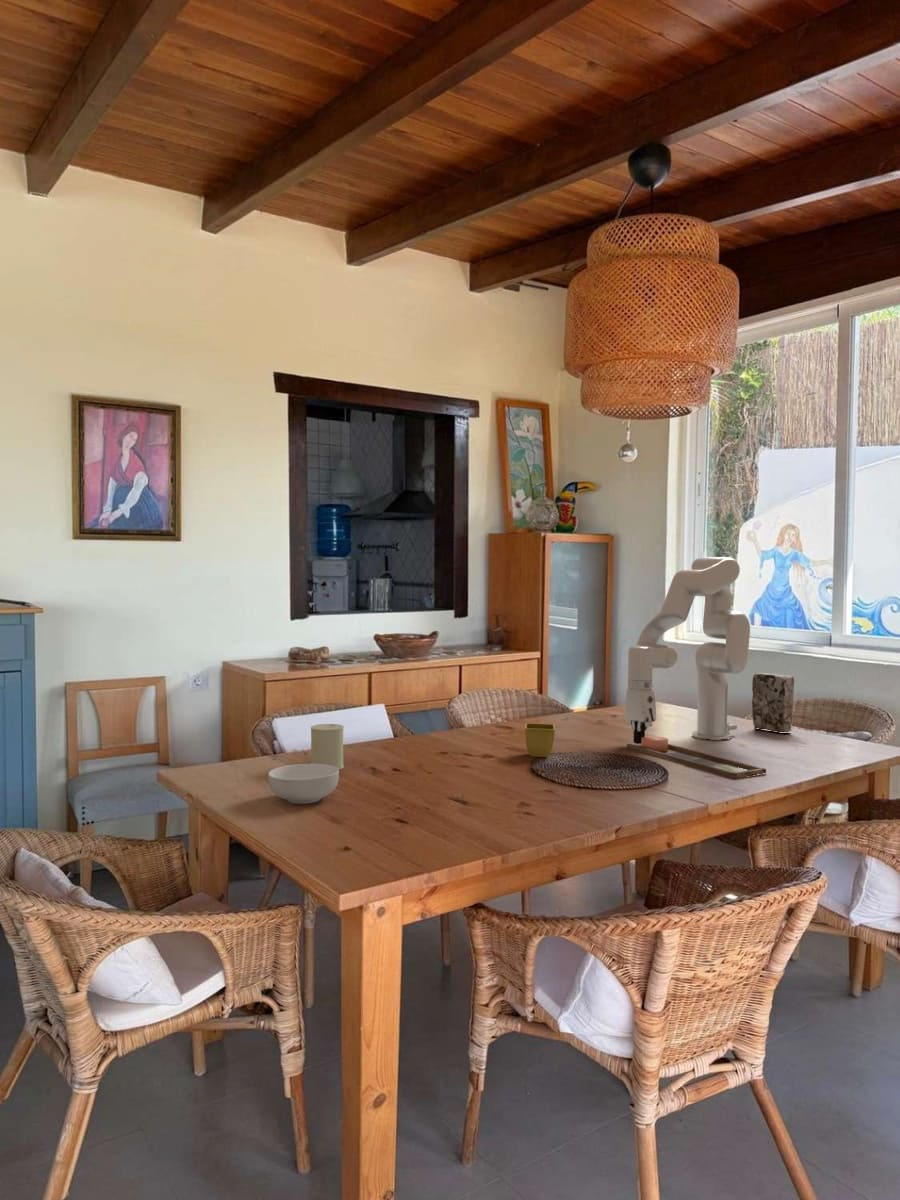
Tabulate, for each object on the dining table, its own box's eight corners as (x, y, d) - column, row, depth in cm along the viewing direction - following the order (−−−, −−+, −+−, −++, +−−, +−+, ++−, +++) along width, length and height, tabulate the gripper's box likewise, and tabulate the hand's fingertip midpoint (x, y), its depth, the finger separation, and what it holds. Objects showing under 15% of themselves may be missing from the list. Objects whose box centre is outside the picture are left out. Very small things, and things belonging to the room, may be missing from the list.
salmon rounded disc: (655, 746, 279) (655, 735, 279) (673, 750, 272) (673, 739, 272) (636, 748, 275) (636, 737, 275) (654, 753, 268) (654, 742, 268)
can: (350, 766, 250) (350, 723, 249) (332, 772, 241) (332, 729, 241) (322, 762, 254) (322, 721, 253) (304, 769, 245) (304, 726, 245)
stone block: (794, 733, 304) (795, 675, 303) (784, 735, 299) (785, 676, 299) (758, 727, 314) (759, 671, 313) (748, 730, 309) (749, 673, 308)
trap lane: (656, 745, 282) (656, 740, 282) (765, 774, 243) (766, 768, 243) (626, 748, 276) (626, 744, 276) (734, 779, 237) (734, 773, 237)
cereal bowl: (307, 787, 226) (307, 759, 226) (353, 798, 215) (353, 769, 215) (253, 800, 213) (253, 771, 212) (299, 813, 202) (299, 782, 202)
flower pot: (554, 753, 269) (554, 723, 269) (554, 759, 260) (555, 729, 260) (525, 752, 270) (525, 723, 269) (524, 758, 261) (524, 728, 261)
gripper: (665, 687, 274) (664, 746, 275) (633, 681, 287) (632, 737, 288) (646, 688, 271) (645, 748, 271) (615, 683, 284) (614, 739, 285)
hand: (639, 742), depth 280 cm, fingers closed
